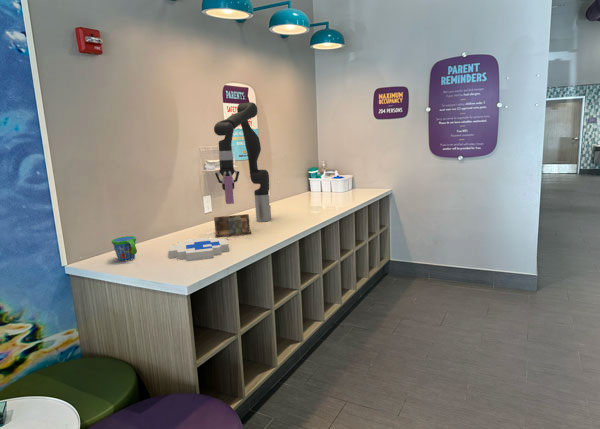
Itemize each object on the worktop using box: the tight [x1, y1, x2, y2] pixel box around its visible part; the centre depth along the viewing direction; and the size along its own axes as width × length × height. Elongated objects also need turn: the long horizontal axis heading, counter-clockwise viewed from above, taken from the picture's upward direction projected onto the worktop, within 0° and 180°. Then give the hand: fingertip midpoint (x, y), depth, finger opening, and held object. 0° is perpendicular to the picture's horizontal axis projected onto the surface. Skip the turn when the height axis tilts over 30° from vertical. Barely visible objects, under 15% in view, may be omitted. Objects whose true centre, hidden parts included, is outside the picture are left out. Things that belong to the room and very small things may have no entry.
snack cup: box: [111, 235, 138, 262], centre depth 199 cm, size 16×10×10 cm
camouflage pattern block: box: [213, 213, 252, 239], centre depth 241 cm, size 20×12×10 cm, turn 102°
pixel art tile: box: [168, 236, 230, 262], centre depth 207 cm, size 28×4×28 cm
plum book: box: [224, 175, 235, 205], centre depth 235 cm, size 4×10×15 cm, turn 13°
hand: (228, 189), depth 236 cm, fingers closed on plum book, 4 cm apart
